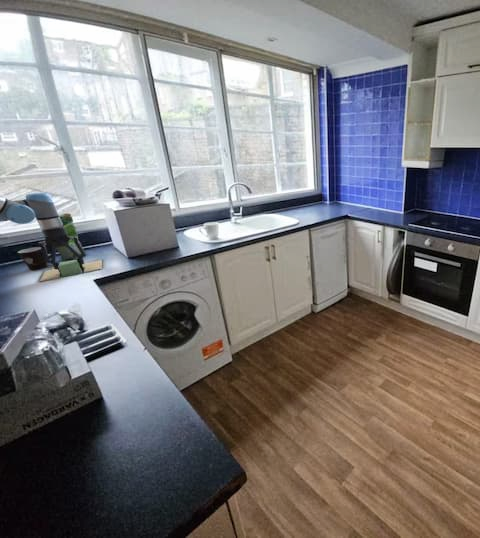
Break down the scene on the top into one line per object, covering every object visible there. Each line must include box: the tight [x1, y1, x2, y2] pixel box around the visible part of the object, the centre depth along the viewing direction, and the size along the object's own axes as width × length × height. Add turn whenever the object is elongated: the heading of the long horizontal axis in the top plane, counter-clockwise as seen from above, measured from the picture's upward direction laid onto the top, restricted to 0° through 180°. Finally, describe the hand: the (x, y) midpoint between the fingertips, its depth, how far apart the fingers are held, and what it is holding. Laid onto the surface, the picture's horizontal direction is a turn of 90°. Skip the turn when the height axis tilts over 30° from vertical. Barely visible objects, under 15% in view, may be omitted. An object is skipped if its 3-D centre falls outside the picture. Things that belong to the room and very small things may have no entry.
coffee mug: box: [17, 246, 52, 271], centre depth 151 cm, size 12×9×10 cm
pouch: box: [56, 212, 86, 261], centre depth 161 cm, size 11×12×25 cm
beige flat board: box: [39, 259, 103, 283], centre depth 147 cm, size 22×16×1 cm
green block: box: [58, 259, 83, 278], centre depth 143 cm, size 7×7×6 cm
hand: (72, 272), depth 144 cm, fingers closed on green block, 7 cm apart
